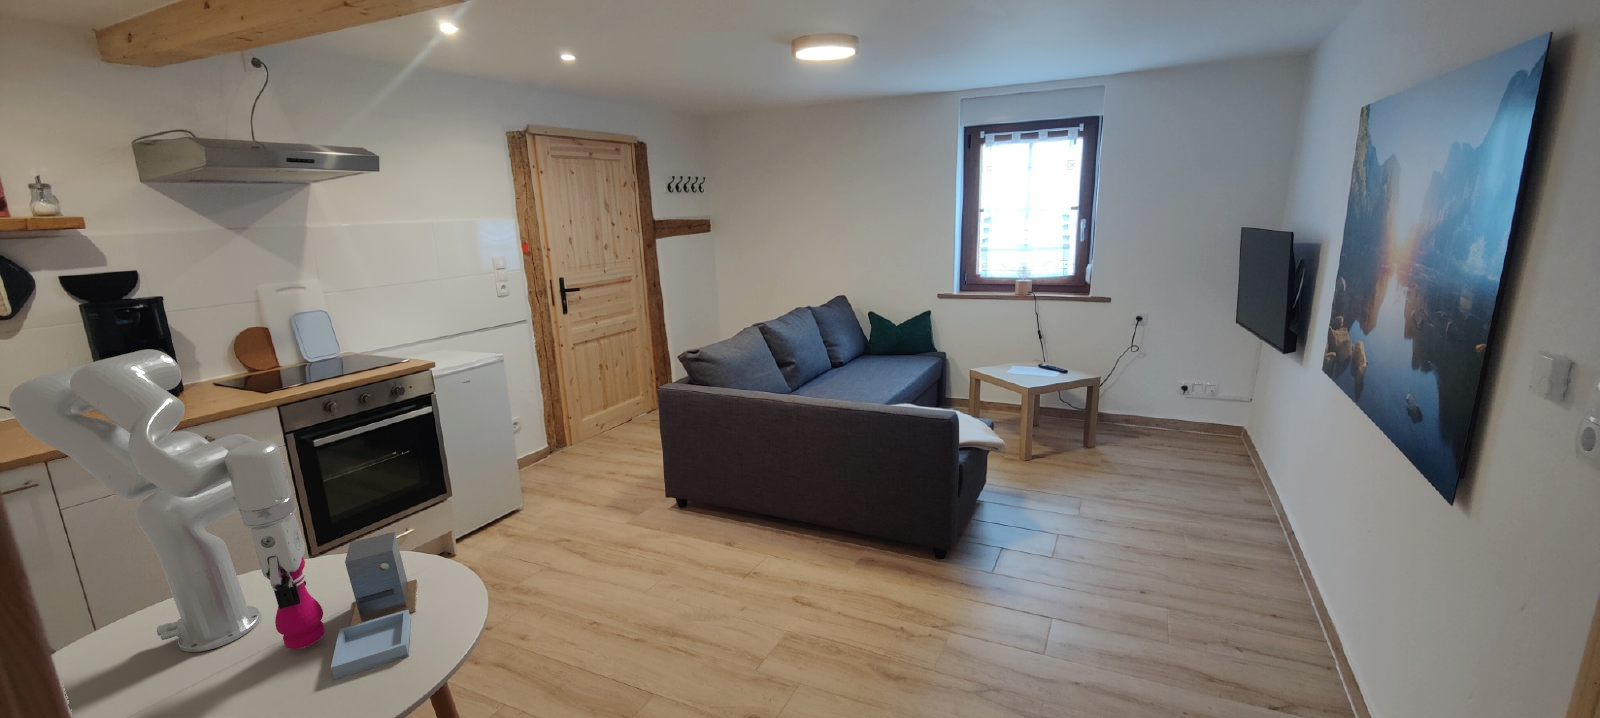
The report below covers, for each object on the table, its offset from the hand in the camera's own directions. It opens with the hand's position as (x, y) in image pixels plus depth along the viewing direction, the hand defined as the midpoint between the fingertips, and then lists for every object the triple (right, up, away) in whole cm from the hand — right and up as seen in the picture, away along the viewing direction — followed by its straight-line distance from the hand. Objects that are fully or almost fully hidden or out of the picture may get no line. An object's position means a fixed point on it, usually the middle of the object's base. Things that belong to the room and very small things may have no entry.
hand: (293, 595), depth 125 cm
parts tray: (+14, -11, +2) cm, 18 cm away
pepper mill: (0, -9, +3) cm, 10 cm away
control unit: (+9, -7, +14) cm, 18 cm away
